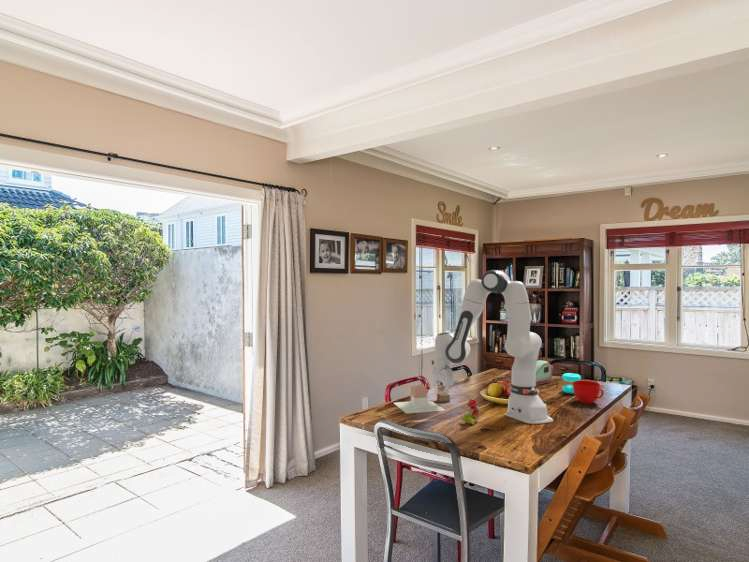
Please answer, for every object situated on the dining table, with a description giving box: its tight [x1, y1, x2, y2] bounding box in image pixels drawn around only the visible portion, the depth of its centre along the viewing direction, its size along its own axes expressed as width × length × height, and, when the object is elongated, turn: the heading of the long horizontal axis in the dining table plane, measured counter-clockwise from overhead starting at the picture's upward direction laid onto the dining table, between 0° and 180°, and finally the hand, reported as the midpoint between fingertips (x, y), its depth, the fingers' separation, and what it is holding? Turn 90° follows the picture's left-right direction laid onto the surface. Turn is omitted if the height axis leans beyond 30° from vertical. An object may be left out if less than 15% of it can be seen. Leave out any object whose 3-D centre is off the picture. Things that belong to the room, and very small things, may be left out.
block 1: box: [410, 384, 427, 399], centre depth 238 cm, size 6×6×5 cm
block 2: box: [410, 395, 427, 408], centre depth 238 cm, size 6×6×5 cm
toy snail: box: [536, 360, 554, 386], centre depth 298 cm, size 25×8×14 cm, turn 127°
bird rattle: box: [461, 398, 482, 426], centre depth 216 cm, size 6×11×9 cm
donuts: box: [561, 372, 582, 395], centre depth 274 cm, size 10×10×10 cm
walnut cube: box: [436, 392, 451, 404], centre depth 248 cm, size 5×5×5 cm
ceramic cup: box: [572, 380, 604, 405], centre depth 250 cm, size 13×17×10 cm
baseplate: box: [393, 399, 446, 415], centre depth 238 cm, size 20×20×1 cm
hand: (442, 390), depth 249 cm, fingers open, 8 cm apart
